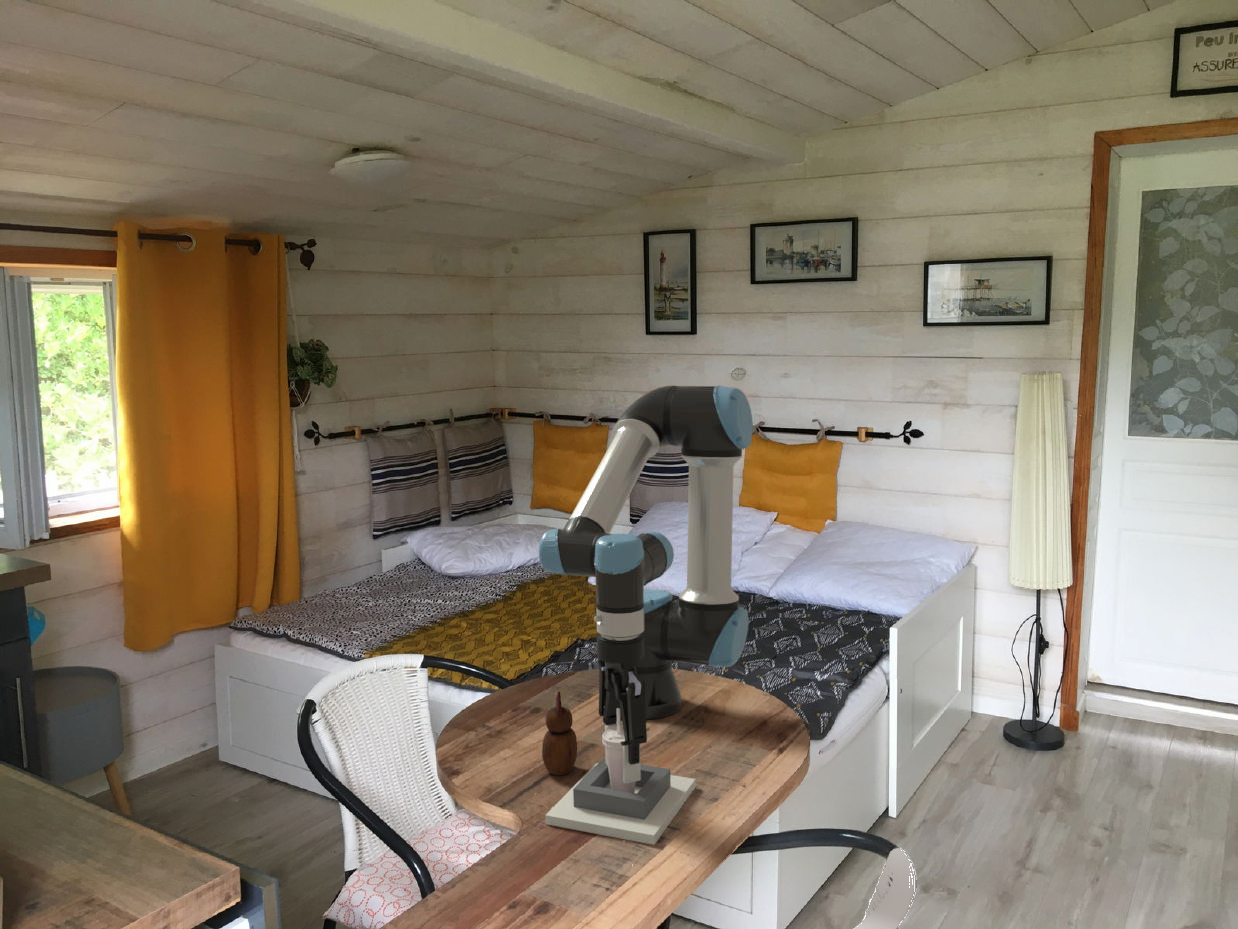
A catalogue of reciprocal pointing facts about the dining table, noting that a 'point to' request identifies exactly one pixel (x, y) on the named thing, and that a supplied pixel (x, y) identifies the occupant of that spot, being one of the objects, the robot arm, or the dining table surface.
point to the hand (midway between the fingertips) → (622, 771)
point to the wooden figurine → (559, 740)
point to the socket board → (620, 822)
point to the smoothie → (616, 757)
